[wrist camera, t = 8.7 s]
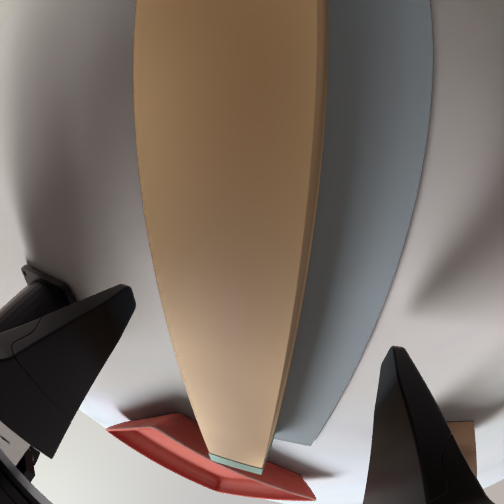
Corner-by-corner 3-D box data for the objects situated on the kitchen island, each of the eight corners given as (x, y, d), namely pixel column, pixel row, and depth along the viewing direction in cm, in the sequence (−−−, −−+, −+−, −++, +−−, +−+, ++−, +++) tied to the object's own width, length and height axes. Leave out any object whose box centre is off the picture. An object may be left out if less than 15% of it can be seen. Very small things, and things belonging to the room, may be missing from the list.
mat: (199, 411, 17) (197, 415, 17) (154, -37, 5) (147, -40, 4) (312, 440, 15) (310, 445, 15) (417, -47, 3) (420, -53, 2)
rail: (228, 421, 16) (211, 460, 13) (212, -40, 4) (147, -83, 2) (275, 433, 15) (261, 474, 12) (328, -48, 3) (311, -115, 1)
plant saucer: (326, 475, 20) (319, 503, 17) (224, 475, 30) (217, 493, 27) (173, 391, 18) (152, 427, 15) (116, 410, 28) (103, 429, 25)
